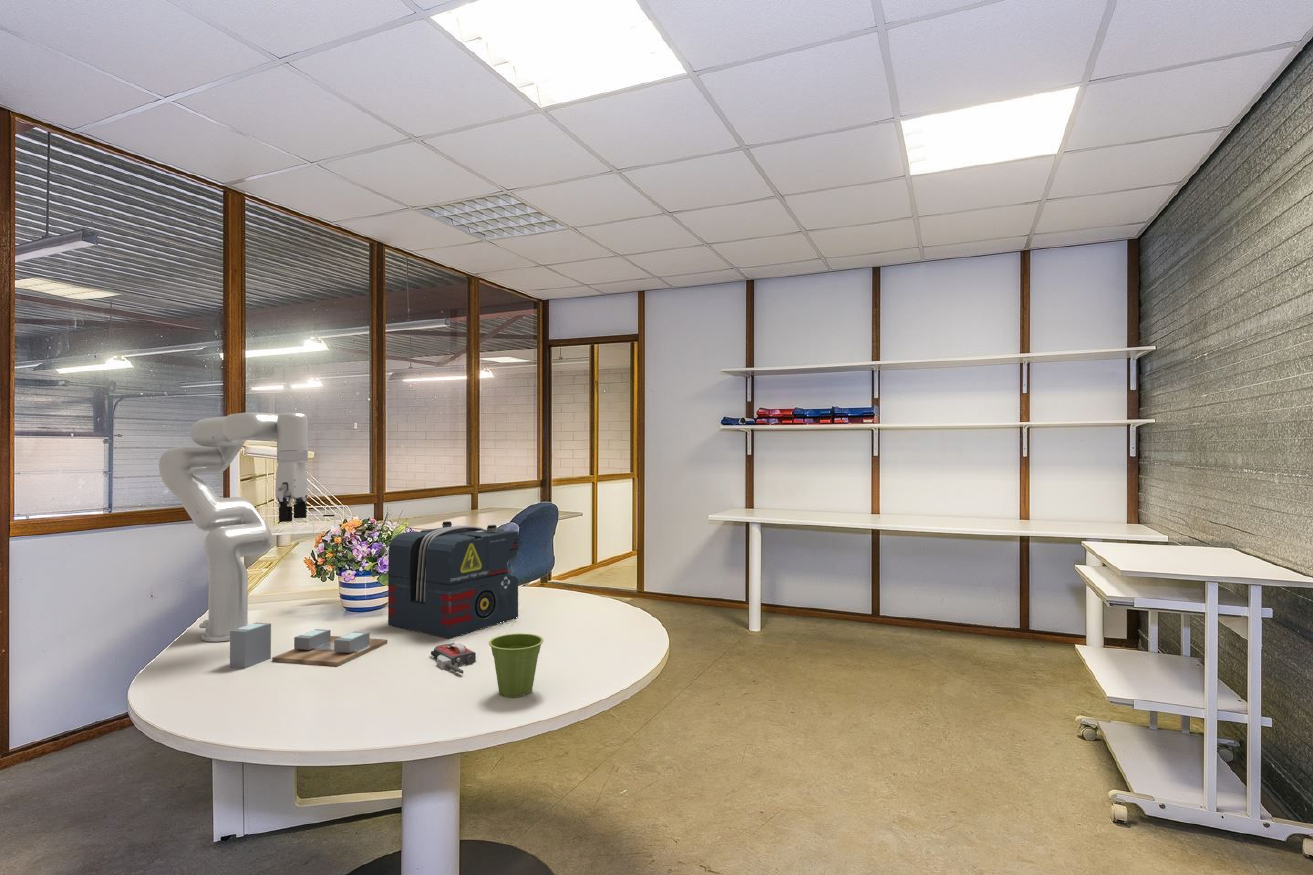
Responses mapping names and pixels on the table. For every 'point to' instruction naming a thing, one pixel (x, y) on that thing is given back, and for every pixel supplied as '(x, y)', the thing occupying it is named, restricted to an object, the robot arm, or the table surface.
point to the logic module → (250, 645)
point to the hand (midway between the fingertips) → (293, 519)
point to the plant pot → (515, 662)
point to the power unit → (451, 579)
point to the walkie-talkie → (453, 656)
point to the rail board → (329, 648)
